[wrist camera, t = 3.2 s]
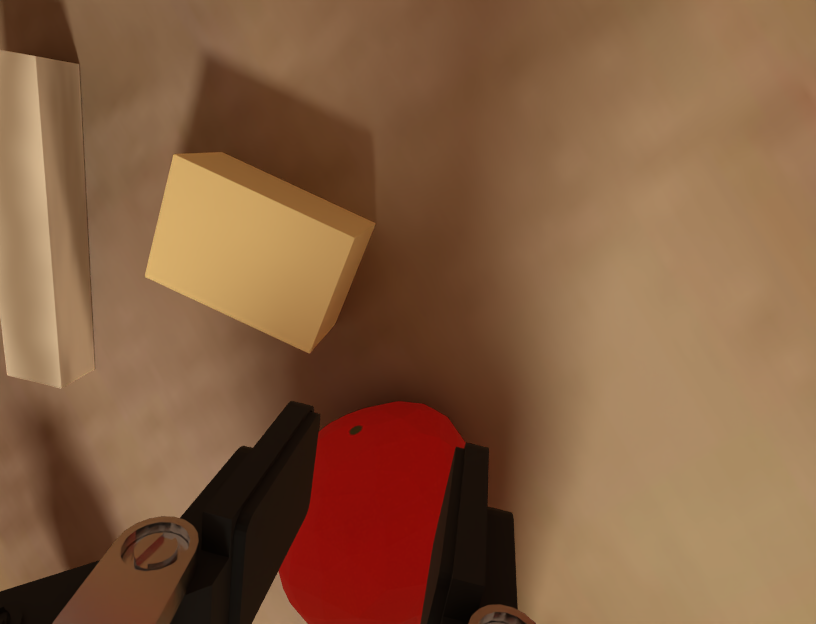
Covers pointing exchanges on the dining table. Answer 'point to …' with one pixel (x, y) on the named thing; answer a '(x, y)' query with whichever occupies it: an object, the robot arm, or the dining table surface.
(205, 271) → the block
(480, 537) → the robot arm
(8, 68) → the pale grey bar
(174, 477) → the dining table surface
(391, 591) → the tomato
